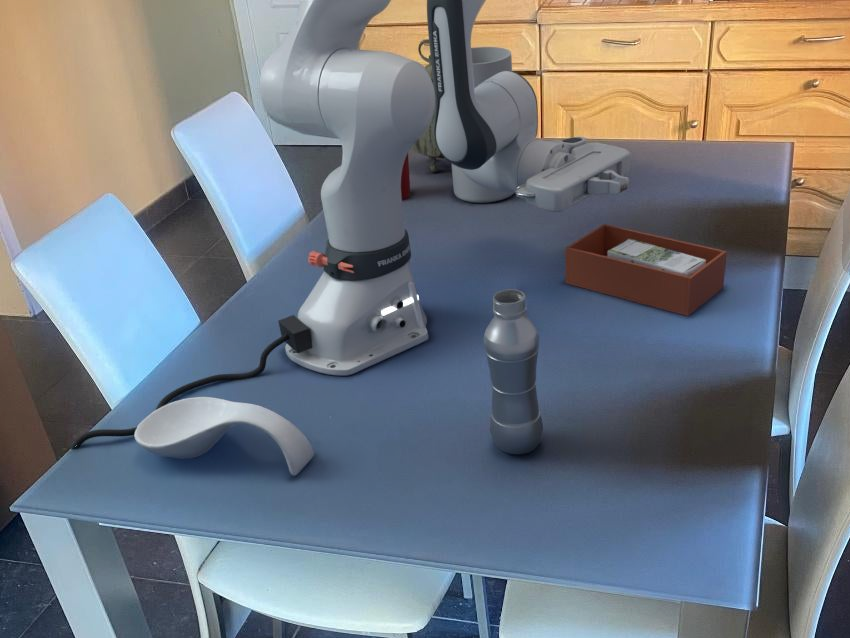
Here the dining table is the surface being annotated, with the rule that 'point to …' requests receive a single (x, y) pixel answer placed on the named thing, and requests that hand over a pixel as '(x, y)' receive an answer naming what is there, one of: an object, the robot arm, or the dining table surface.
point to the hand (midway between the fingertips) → (623, 186)
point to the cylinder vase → (484, 67)
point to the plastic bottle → (513, 374)
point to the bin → (643, 271)
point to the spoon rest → (216, 429)
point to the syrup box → (656, 257)
